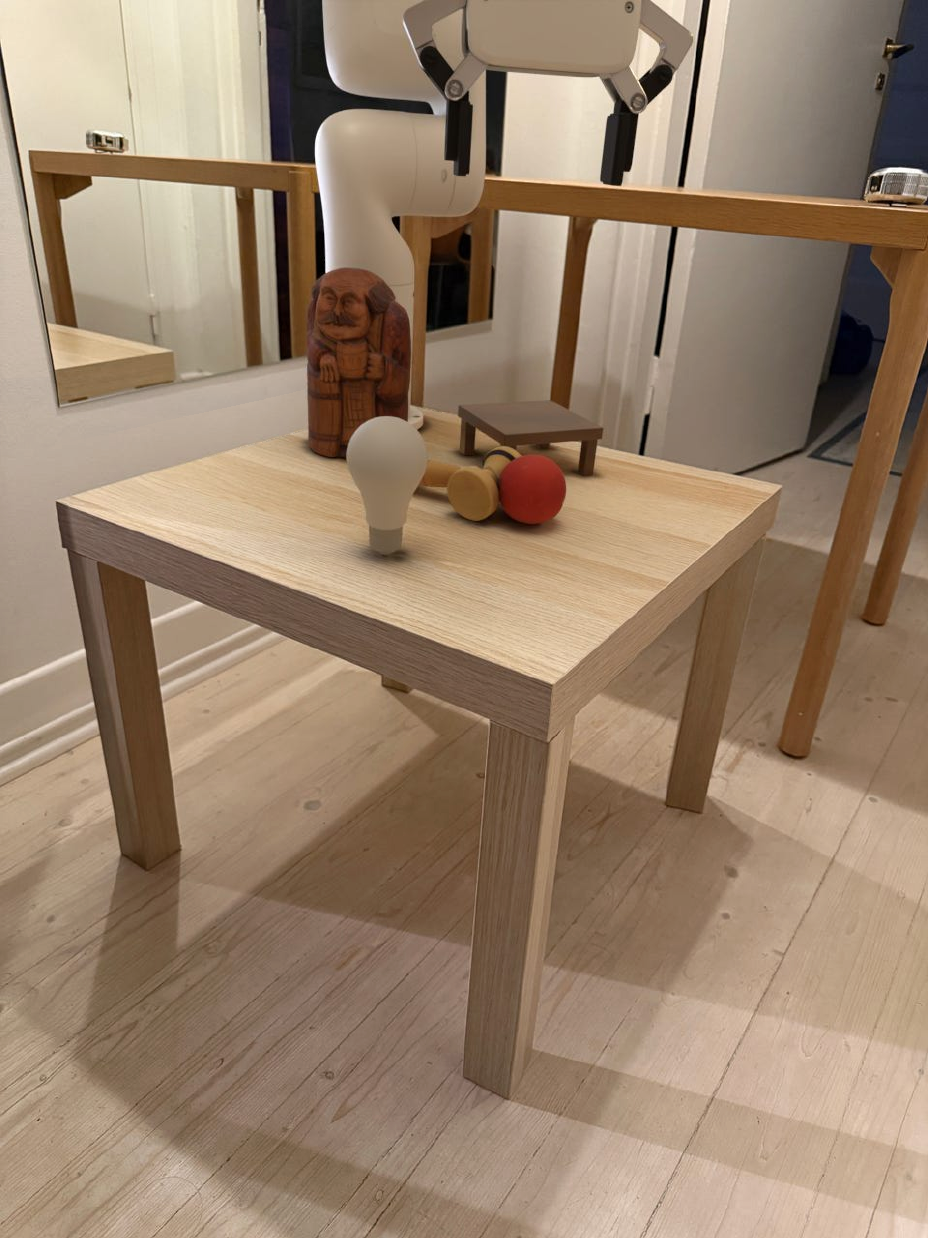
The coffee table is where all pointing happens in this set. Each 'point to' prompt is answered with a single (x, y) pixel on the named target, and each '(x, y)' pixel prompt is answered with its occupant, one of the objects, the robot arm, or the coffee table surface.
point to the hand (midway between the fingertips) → (536, 179)
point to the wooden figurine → (354, 357)
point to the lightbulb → (386, 475)
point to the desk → (530, 427)
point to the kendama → (502, 486)
